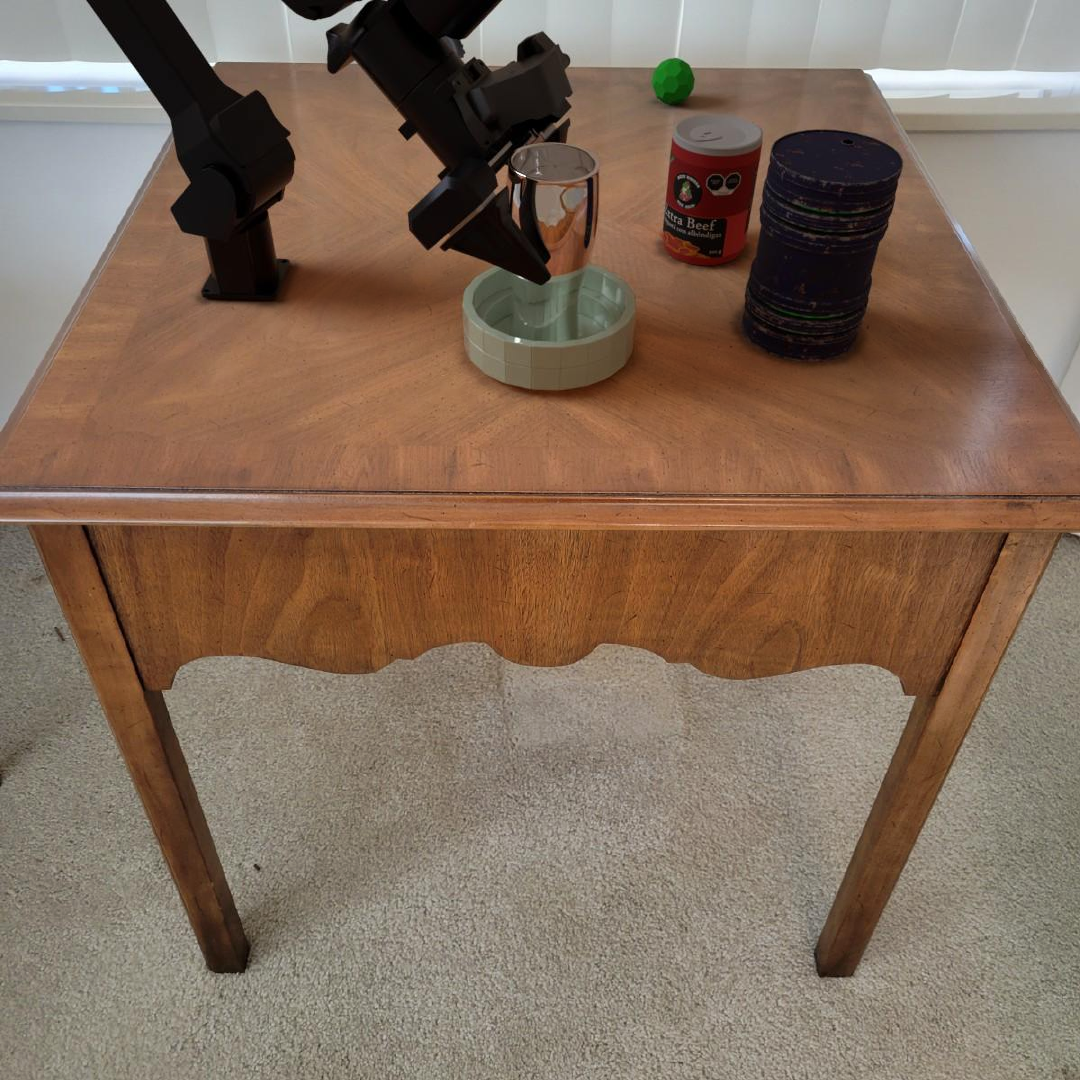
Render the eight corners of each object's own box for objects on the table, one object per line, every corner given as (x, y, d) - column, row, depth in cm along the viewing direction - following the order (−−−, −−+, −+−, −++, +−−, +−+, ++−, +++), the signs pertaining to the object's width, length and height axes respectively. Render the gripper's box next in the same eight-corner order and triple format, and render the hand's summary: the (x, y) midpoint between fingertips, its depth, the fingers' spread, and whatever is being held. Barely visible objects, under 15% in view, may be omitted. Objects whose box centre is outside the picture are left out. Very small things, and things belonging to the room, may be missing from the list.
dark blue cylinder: (837, 375, 81) (883, 196, 71) (722, 341, 84) (750, 165, 74) (872, 318, 87) (920, 145, 77) (764, 288, 91) (795, 119, 80)
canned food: (644, 247, 96) (655, 130, 88) (695, 219, 100) (709, 105, 92) (710, 276, 92) (727, 157, 84) (760, 246, 96) (781, 129, 89)
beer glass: (516, 371, 80) (522, 188, 69) (491, 324, 84) (492, 145, 74) (599, 358, 81) (617, 177, 71) (570, 312, 86) (582, 136, 76)
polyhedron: (695, 109, 120) (699, 67, 117) (653, 110, 120) (657, 68, 117) (687, 93, 124) (692, 52, 121) (647, 94, 124) (651, 53, 120)
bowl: (633, 399, 78) (638, 349, 75) (457, 393, 79) (454, 343, 75) (629, 306, 88) (633, 259, 85) (472, 301, 88) (470, 254, 85)
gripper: (440, 49, 60) (606, 253, 65) (548, -34, 73) (681, 143, 78) (338, 158, 68) (494, 334, 73) (453, 66, 80) (579, 221, 85)
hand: (567, 253), depth 77 cm, fingers open, 9 cm apart
